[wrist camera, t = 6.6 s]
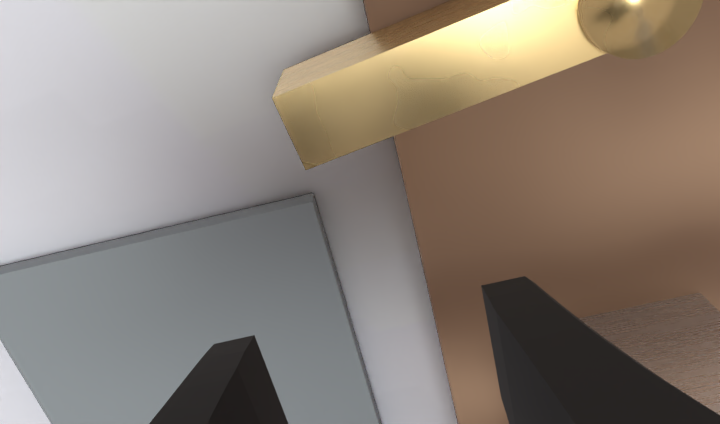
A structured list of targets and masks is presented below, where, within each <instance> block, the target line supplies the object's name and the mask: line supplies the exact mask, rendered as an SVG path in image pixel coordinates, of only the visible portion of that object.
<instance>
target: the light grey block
mask: <svg viewBox="0 0 720 424" xmlns="http://www.w3.org/2000/svg"><path fill="white" fill-rule="evenodd" d="M579 319H580V320H581V321H583V322H584V323H585V324H587V325H588V326H589V327H590V328H592V329H593V330H594V331H596V332H597V333H598V334H600V335H601V336H602V337H604V338H605V339H607V340H608V341H609V342H611V343H612V344H614V345H615V346H616V347H618V348H619V349H621V350H622V351H623V352H625V353H626V354H628V355H629V356H630V357H632V358H633V359H635V360H636V361H637V362H639V363H640V364H642V365H643V366H645V367H646V368H647V369H649V370H650V371H652V372H653V373H655V374H656V375H658V376H659V377H661V378H662V379H664V380H665V381H667V382H668V383H670V384H671V385H673V386H675V387H676V388H678V389H679V390H681V391H682V392H684V393H686V394H687V395H689V396H690V397H692V398H693V399H695V400H697V401H698V402H700V403H701V404H703V405H705V406H706V407H708V408H709V409H711V410H712V411H714V412H716V413H717V414H719V415H720V312H719V311H718V310H717V309H716V308H715V307H714V306H713V305H712V304H711V303H710V302H709V301H708V300H707V299H706V298H705V297H704V296H703V295H702V294H701V293H696V294H691V295H687V296H682V297H677V298H673V299H668V300H663V301H658V302H654V303H649V304H644V305H640V306H635V307H630V308H625V309H621V310H616V311H611V312H607V313H602V314H597V315H592V316H588V317H583V318H579Z"/></svg>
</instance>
